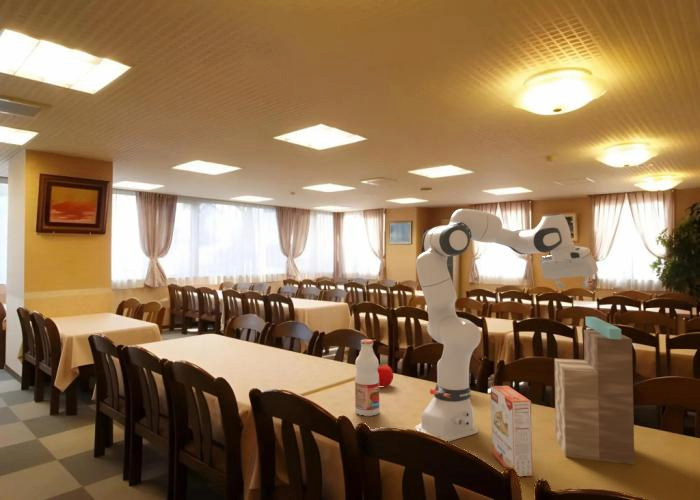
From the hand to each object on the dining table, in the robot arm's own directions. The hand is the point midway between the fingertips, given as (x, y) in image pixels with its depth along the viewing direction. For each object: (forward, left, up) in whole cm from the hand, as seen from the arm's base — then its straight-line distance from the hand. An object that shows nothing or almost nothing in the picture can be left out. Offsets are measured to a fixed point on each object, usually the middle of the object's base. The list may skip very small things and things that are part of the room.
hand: (573, 287), depth 163 cm
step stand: (-30, -16, -48) cm, 59 cm away
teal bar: (-23, -17, -12) cm, 31 cm away
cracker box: (-58, -4, -48) cm, 75 cm away
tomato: (-32, +74, -48) cm, 94 cm away
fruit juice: (-60, +54, -48) cm, 94 cm away
